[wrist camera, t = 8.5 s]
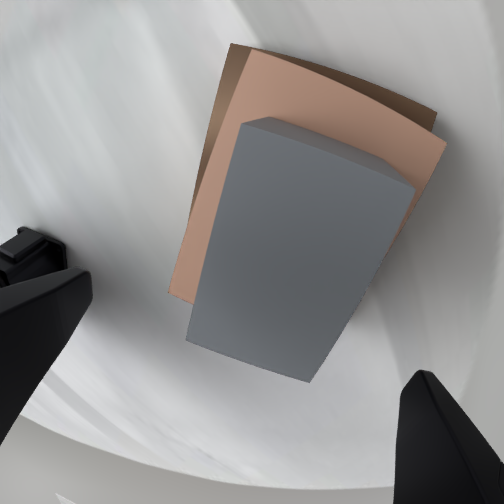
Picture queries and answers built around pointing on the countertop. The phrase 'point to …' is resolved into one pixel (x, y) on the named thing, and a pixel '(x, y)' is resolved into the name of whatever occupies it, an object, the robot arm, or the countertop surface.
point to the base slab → (241, 53)
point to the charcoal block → (293, 246)
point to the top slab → (312, 118)
